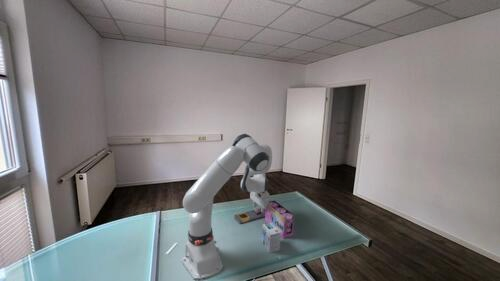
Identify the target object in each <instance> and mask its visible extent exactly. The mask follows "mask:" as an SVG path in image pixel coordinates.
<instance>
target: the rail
mask: <svg viewBox="0 0 500 281" xmlns="http://www.w3.org/2000/svg"><path fill="white" fill-rule="evenodd" d="M262 218H265V211H264V212H263V213H262V212H261V213H260V214H257V215H256V214H255V213H254V209H253V210H249V211H245V212H242V213H237V214H234V215H233V219H234V220H235V221H236V223H238V225H241V224H244V223H247V222H251V221H255V220H258V219H262Z"/></svg>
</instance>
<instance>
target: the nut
mask: <svg viewBox="0 0 500 281" xmlns="http://www.w3.org/2000/svg"><path fill="white" fill-rule="evenodd" d="M261 209H262V208H261V206H260V205H257V206H256V207H254V206H253V210H254V213H255V214H256V215H257V214H260V213H261Z"/></svg>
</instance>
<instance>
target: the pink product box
mask: <svg viewBox="0 0 500 281" xmlns="http://www.w3.org/2000/svg"><path fill="white" fill-rule="evenodd" d="M264 212H265V217H264V220H265V221H266V222H267V224H268V223H273V224H274V225H275V226H276V227H277V229H278V230H279V231H280V232H281V238H282V239H286V238H290V237H293V236H294V228H295V214H293V212H291V211H290V210H288V209H287V208H286V207H284V206H283V205H281V204H280V203H279V202H277V201H276V200H271V201H270V200H269V204H268V208H266V209H264Z"/></svg>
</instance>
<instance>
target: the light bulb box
mask: <svg viewBox="0 0 500 281" xmlns="http://www.w3.org/2000/svg"><path fill="white" fill-rule="evenodd" d="M261 227H262V231H261V242H262V244H263V246H264V247H265V248H266V250H267V252H268V253H269V254H271V253H273V252H274V253H275V252H278V251H281V238H282V237H281V232H280V231H279V230H278V229H277V227H276V226H275V225H274V224H273V223H268V222H267V223H262V226H261Z"/></svg>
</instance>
